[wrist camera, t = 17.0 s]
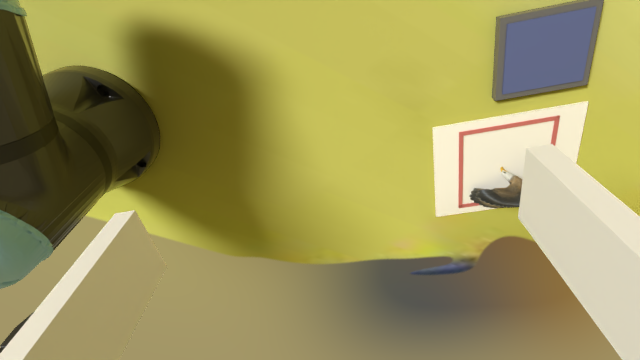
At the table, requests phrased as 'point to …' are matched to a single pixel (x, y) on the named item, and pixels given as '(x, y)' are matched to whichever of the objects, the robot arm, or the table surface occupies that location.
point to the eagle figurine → (500, 193)
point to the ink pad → (545, 48)
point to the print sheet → (497, 151)
